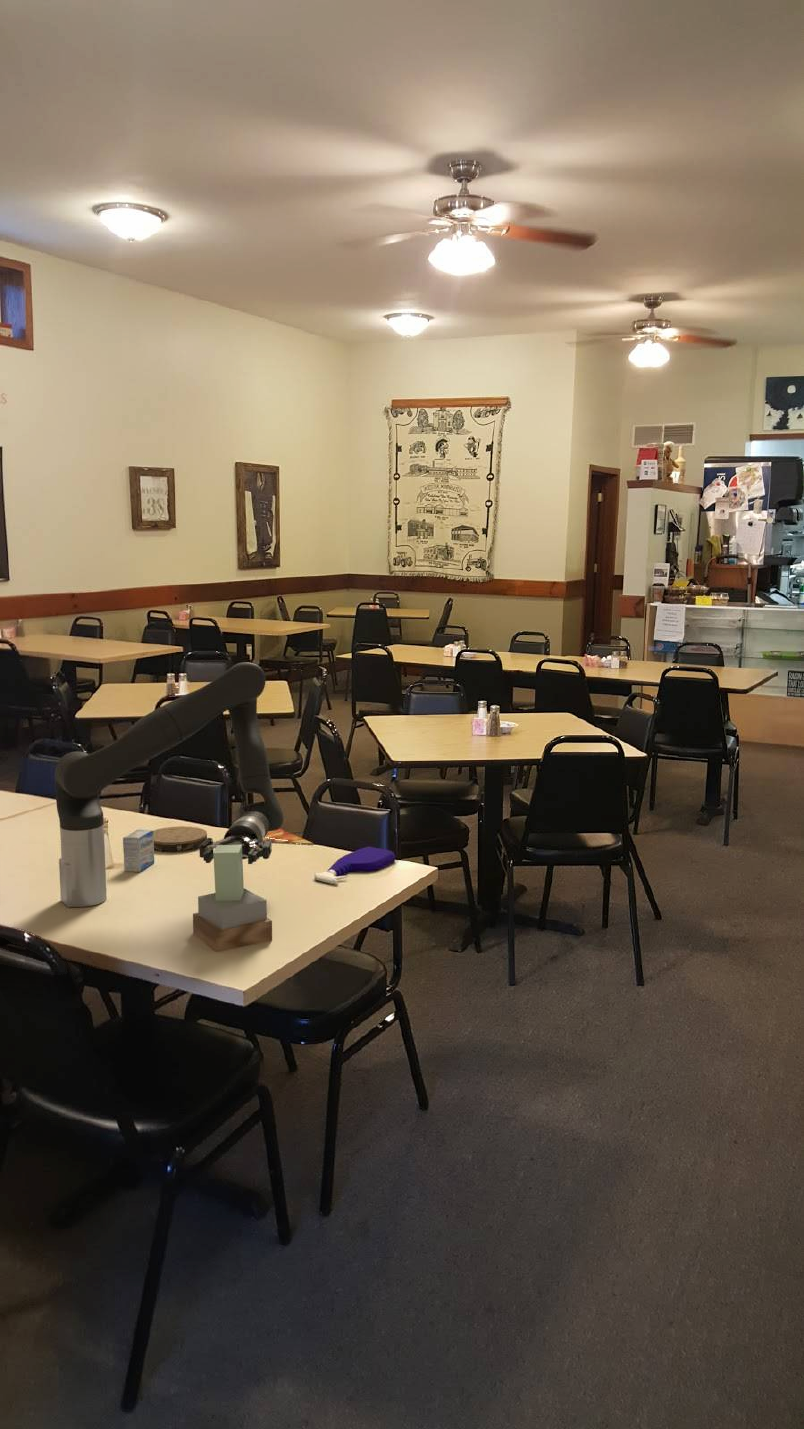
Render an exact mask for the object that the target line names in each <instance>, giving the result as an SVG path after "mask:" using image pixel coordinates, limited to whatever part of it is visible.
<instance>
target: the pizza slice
mask: <svg viewBox="0 0 804 1429" xmlns="http://www.w3.org/2000/svg"><path fill="white" fill-rule="evenodd" d="M265 837H269V839H270V838H275V839H281V840H275V839H270V840H271V841H272V844H287V845H289V844H290V845H296V844H295V843H301V844H300V845H305V846H306V845H307V846H308V845H309V846H313V845H314V842H312V841H309V840H307V839H305V838H302V837H300V836H297V835H295V834H293V833H291V832H288V831H286V830H284V829H282V828H281V827H280V828H279V829H278V830H275V831H269V832H268V833H267V835H266V836H265ZM267 839H268V838H264V840H263V841H266V840H267ZM282 840H288V841H282Z"/></svg>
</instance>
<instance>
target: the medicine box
mask: <svg viewBox="0 0 804 1429" xmlns="http://www.w3.org/2000/svg"><path fill="white" fill-rule="evenodd" d="M153 831H154V830H152V829H142V828H141V829H136V830H134V831H132V832H130V834H128V835H126V836H124V837H122V850H123V852H122V853H123V866H124V867H123V868H124V869H123V870H124V872H132V873H133V872H134V873H135V872H136V873H142V872H143V871H144V870H145V871H146V870H147V869H148V868H149V867H150V866H152V865H153V864H155V851H154V838H153Z"/></svg>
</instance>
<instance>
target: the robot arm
mask: <svg viewBox="0 0 804 1429" xmlns="http://www.w3.org/2000/svg"><path fill="white" fill-rule="evenodd" d="M266 680H267V678H266V673H265V672H264V670H263V669H262V667H260V665H258V664H255V663H253V662H247V661H246V662H238V663H236V664H234V665H233V666H231V667H230V668H229V669H228V670H226V671H225V672H224V673H222V674H221V675H219V676H218V677H216V678H215V679H213V680H212V681H211V682H209V683H207V684H206V685H204V686H202V687H201V688H197V689H195V690H193V691H191V692H189V693H187V694H184V695H182V696H180V697H178V698H175V699H174V700H171V701H169V702H167V703H166V704H163V705H161V706H160V707H158V708H156V709H155V710H152V711H151V712H149V713H147V714H145V715H144V716H142V717H141V718H139V720H137V721H136V722H135V723H133V725H131V726H130V728H128V729H127V730H126V731H125V732H124V733H123V734H122V735H121V736H120V737H119V738H118V739H116V740H115V741H113V742H112V743H109V744H108V745H106V746H104V747H102V748H100V749H99V750H98V749H97V750H96V751H94V752H91V753H86V752H84V751H71V752H68V753H66V754H65V755H63V756H62V757H61V758H59V761H58V762H57V764H56V766H55V769H54V785H55V787H54V788H55V789H54V790H55V801H56V811H57V815H58V819H59V821H58V822H59V835H60V856H61V858H59V859H58V867H59V868H58V870H59V889H60V901H61V902H62V903H63V904H64V905H65V906H66V908H72V907H75V908H76V907H78V908H81V907H82V908H84V907H91V906H97V905H99V904H102V903H103V902H105V901H106V900H107V874H106V873H107V871H106V851H105V850H106V848H105V844H106V843H105V825H104V823H105V822H104V819H105V818H104V811H103V809H102V806H101V801H100V794H99V793H100V792H101V791H102V790H104V789H105V788H107V787H108V786H110V785H111V784H113V783H114V782H115V781H116V780H118V779H119V778H120V777H122V776H123V775H125V774H126V773H128V772H129V771H131V770H133V769H134V768H137V767H139V766H141V765H143V764H144V763H147V762H148V761H150V760H152V759H153V758H155V757H157V756H159V755H162V753H164V752H166V751H169V750H170V749H173V747H175V746H177V745H179V744H180V743H182V742H185V741H186V740H188V739H189V738H190V737H192V736H193V735H195V734H196V733H198V732H199V731H200V730H201V729H202V728H204V727H205V726H206V725H208V724H209V723H210V722H211V721H212V720H214V719H216V718H217V717H219V715H221V714H223V713H224V712H227V711H228V714H229V718H230V722H231V727H232V732H233V737H234V742H235V743H234V744H235V751H236V752H235V753H236V759H237V767H238V768H237V769H238V775H239V776H238V777H239V784H240V789H241V791H242V792H243V793H246V794H259V795H260V796H261V797H262V798H263V801H259V802H252V803H247V804H244V805H242V806H240V807H238V810H237V812H236V821H234V823H232V825H231V826H230V827H229V828H228V830H227V831H226V832H225V834H224V837H223V838H222V839H219V840H216V841H214V840H213V838H212V837H207V839H206V840H205V841H204V842H202V843H201V844H200V845H199V849H198V850H199V852H198V853H199V858H201V859H202V858H203V861H204V862H205V863H206V864H210V863H211V862H212V861H214V854H213V853H214V850H215V849H216V846H217V845H242V860H247V864H248V865H253V863H255V862H257V861H258V860H260V858H262V859H264V860H268V859H270V856H271V855H272V846H273V845H272V844H273V843H272V841H271V840H270V839H267V840H266V841H263V840H264V838H265V836H266V835H267V833H268V832H269V831H275V830H278V829H279V828H280V829H281V827H282V826H283V823H284V817H285V816H284V812H283V809H282V807H281V804H280V803H279V800H278V798H277V796H276V794H275V790H274V788H273V784H272V780H271V776H270V775H271V773H270V766H269V758H268V753H267V749H266V746H265V742H264V740H263V737H262V733H261V731H260V728H259V720H258V713H257V712H258V711H257V710H258V709H257V708H258V707H257V706H258V698H259V697H260V696H261V694H262V693H263V692H264V689H265V687H266V683H267V682H266Z"/></svg>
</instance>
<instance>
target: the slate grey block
mask: <svg viewBox="0 0 804 1429" xmlns="http://www.w3.org/2000/svg"><path fill="white" fill-rule="evenodd" d="M267 906H268V904H267V899H265V898H263V897H261V896H260V895H258V894H256V893H254V892H252V891H250V890H248V889H246V888H245V887H244V893H243V896H242V899H241V901H216V896H215V892H213V893H208V894H204V895H199V896H197V907H198V908H197V910H198V912H197V913H198V916H200V917H202V918H203V919H205V920H207V921H208V922H210V923H212V924H213V925H215V926H216V927H218V928H220V929H221V930H224V929H228V928H232V927H236V926H240V925H245V924H249V923H253V922H257V921H261V920H265V919H267V918H268V916H267V915H268V914H267V913H268V912H267V909H268V908H267Z"/></svg>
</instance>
